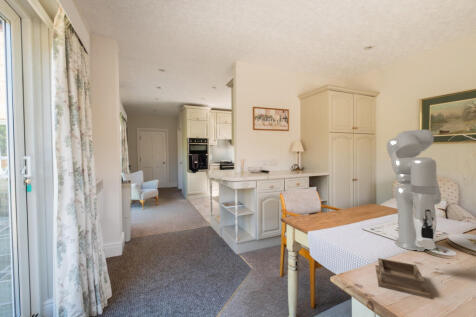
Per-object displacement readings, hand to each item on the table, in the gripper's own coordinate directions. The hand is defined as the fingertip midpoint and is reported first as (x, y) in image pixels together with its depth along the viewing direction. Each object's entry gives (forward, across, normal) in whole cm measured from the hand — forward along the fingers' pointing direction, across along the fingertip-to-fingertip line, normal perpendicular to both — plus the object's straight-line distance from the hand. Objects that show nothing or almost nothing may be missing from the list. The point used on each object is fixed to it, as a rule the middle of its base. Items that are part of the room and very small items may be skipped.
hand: (424, 234), depth 81 cm
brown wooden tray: (+15, +12, -10) cm, 22 cm away
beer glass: (+5, 0, 0) cm, 5 cm away
